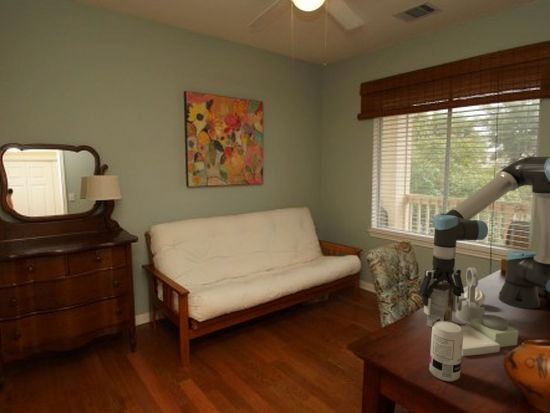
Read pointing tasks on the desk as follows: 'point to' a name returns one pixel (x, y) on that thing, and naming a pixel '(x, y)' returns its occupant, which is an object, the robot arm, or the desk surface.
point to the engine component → (470, 299)
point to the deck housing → (487, 335)
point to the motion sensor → (478, 296)
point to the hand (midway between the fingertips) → (440, 312)
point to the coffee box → (441, 303)
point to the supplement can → (446, 351)
